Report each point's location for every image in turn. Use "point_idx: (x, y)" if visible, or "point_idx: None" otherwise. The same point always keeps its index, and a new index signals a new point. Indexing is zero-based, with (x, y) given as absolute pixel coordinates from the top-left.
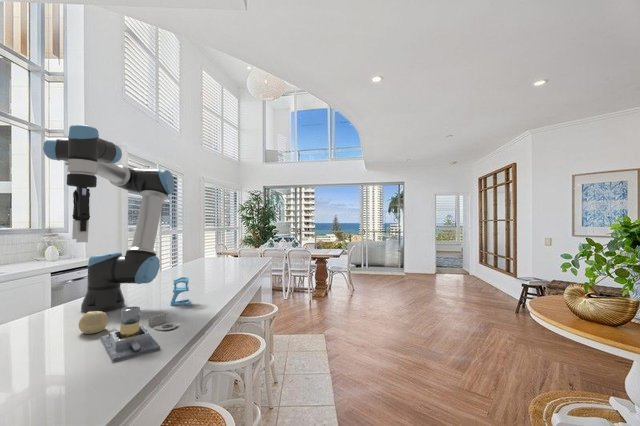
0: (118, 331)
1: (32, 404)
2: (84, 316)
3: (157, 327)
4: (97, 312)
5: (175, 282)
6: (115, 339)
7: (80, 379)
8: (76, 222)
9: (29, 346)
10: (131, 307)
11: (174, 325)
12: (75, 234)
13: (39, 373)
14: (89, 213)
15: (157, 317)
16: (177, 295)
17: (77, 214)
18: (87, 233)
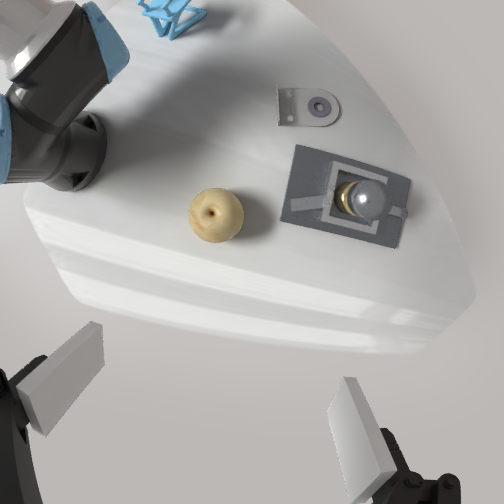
0: (329, 208)
1: (411, 336)
2: (217, 238)
3: (303, 119)
4: (209, 208)
5: (166, 4)
6: (366, 230)
7: (403, 292)
8: (51, 413)
9: (216, 309)
10: (364, 192)
11: (323, 95)
12: (90, 368)
13: (344, 322)
14: (460, 498)
15: (278, 102)
16: (178, 18)
17: (25, 453)
18: (370, 412)
